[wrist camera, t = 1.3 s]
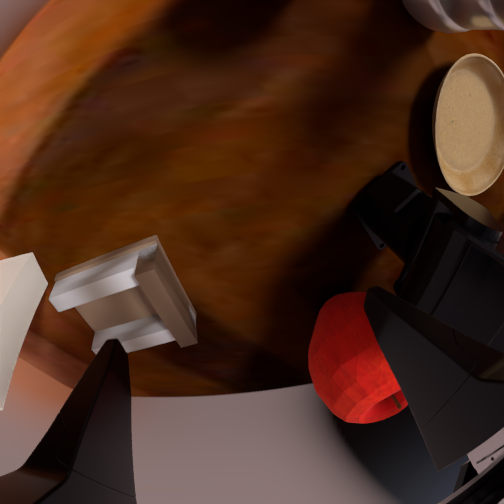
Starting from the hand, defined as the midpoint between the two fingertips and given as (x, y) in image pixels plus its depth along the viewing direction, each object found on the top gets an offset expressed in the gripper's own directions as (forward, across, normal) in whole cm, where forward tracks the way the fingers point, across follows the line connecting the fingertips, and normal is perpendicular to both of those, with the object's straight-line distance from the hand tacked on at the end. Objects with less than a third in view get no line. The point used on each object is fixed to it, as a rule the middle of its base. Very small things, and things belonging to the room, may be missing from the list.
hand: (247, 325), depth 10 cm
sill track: (+13, +9, +8) cm, 18 cm away
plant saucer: (+14, -25, -5) cm, 29 cm away
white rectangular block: (+13, +18, +4) cm, 23 cm away
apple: (+13, -11, +15) cm, 23 cm away
